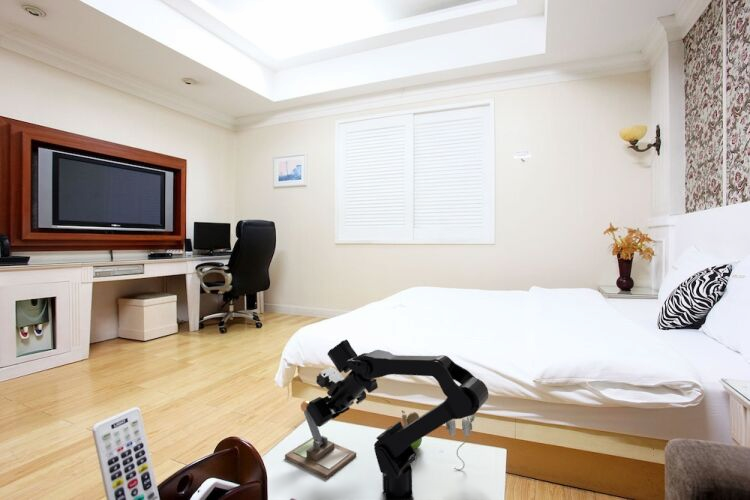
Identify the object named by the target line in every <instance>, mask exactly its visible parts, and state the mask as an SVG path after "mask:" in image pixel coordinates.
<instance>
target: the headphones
mask: <svg viewBox="0 0 750 500" xmlns="http://www.w3.org/2000/svg"><path fill="white" fill-rule="evenodd" d="M447 398H448V397H447V396H446V399H447ZM474 420H475V414H473V415H471V416H468V417H465V418H462V419H461V427H462V434H463V435H464V436H467V439H466V440H465V441H464V442H462V444H461V445H459V446H458V447H457V450H456V456H457V458H458V459H459V460H460V461H461V463H463V466H462V468H456V467H454V470H457V471H462V470H463V469H464V468H465V462H464V460H463V459H462V458H461V457H460V455H458V451H459V449H460V448H461V447H462V446H463V445H465V443H467V442H468V440H469V438H470V435H471V431H473V422H474ZM456 425H457V424H456V419H453V420H450V421H448V422H447V423H445V429H446V430H447V431H448V435H449V436H455V435H456V431H457V430H456V429H457V428H456Z"/></svg>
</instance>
